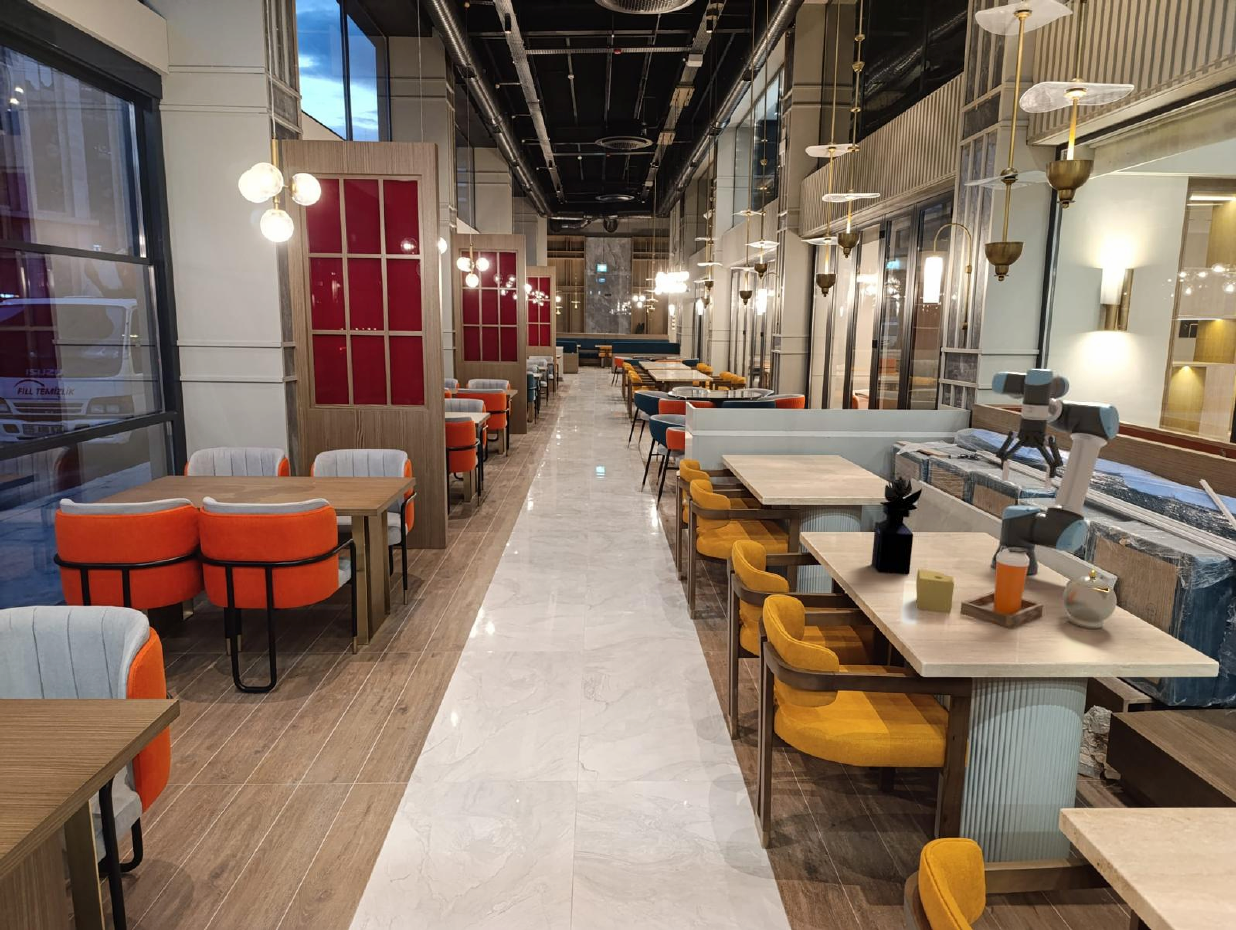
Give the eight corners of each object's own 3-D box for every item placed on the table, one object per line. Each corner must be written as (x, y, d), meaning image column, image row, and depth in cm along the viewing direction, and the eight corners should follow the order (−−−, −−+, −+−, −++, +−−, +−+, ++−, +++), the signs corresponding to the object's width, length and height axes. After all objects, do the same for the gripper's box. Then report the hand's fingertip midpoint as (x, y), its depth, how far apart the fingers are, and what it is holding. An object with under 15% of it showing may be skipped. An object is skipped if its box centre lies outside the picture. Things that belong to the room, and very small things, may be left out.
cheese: (949, 603, 250) (953, 572, 249) (951, 614, 240) (955, 582, 239) (914, 598, 254) (917, 568, 252) (915, 609, 244) (918, 577, 242)
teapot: (1125, 634, 229) (1133, 579, 226) (1080, 633, 228) (1087, 578, 225) (1084, 611, 246) (1091, 560, 244) (1042, 611, 245) (1049, 560, 243)
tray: (993, 601, 253) (994, 590, 252) (1041, 615, 241) (1043, 604, 241) (960, 613, 241) (961, 602, 240) (1009, 629, 229) (1010, 617, 229)
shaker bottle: (1026, 618, 235) (1035, 553, 231) (994, 615, 236) (1002, 550, 233) (1017, 608, 244) (1025, 545, 240) (986, 605, 245) (994, 542, 242)
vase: (909, 565, 290) (918, 470, 284) (917, 575, 278) (928, 476, 272) (868, 563, 291) (877, 468, 285) (876, 572, 280) (885, 474, 273)
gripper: (989, 414, 259) (982, 478, 262) (1070, 423, 239) (1061, 492, 243) (1000, 413, 263) (993, 476, 267) (1081, 422, 244) (1071, 490, 248)
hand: (1025, 484), depth 255 cm, fingers open, 13 cm apart
